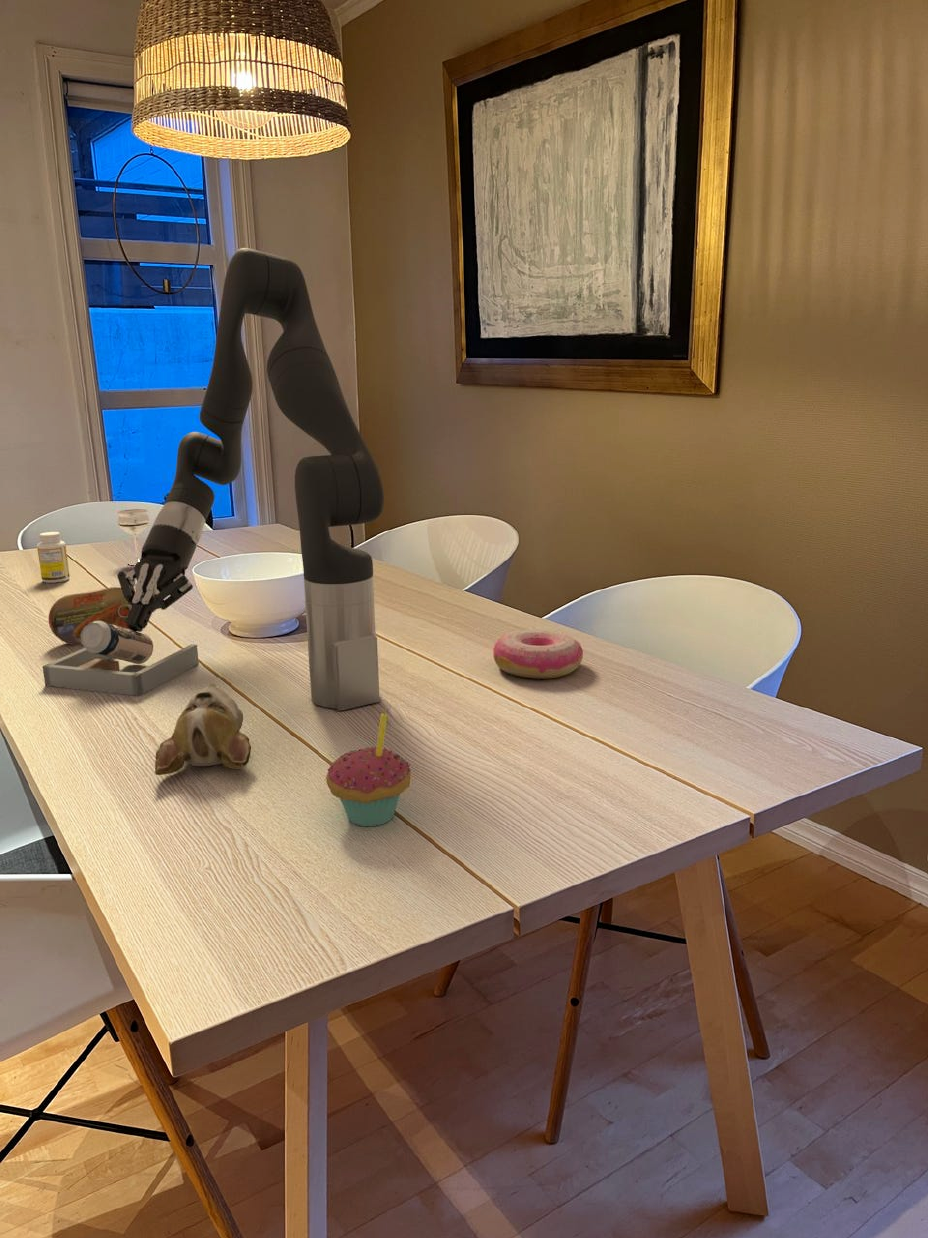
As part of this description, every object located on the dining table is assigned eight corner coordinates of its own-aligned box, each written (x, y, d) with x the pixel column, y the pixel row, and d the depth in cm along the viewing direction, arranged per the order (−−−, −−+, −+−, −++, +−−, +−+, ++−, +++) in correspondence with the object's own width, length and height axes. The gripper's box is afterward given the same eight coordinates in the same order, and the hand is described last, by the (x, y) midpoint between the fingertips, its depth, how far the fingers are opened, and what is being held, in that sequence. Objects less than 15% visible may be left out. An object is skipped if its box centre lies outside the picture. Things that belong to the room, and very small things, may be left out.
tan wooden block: (98, 677, 141) (96, 658, 140) (120, 680, 140) (118, 661, 139) (80, 686, 137) (77, 667, 137) (102, 689, 136) (100, 669, 135)
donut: (578, 687, 134) (578, 653, 133) (485, 682, 137) (485, 649, 135) (585, 657, 147) (586, 627, 146) (500, 653, 150) (500, 623, 148)
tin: (55, 649, 154) (48, 599, 152) (49, 645, 157) (42, 596, 154) (145, 632, 164) (140, 584, 161) (138, 628, 166) (133, 581, 164)
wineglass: (160, 562, 218) (154, 510, 215) (136, 567, 213) (130, 514, 210) (140, 559, 222) (134, 508, 219) (116, 564, 216) (110, 512, 213)
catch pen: (111, 654, 151) (109, 636, 150) (198, 663, 146) (197, 644, 146) (45, 685, 137) (42, 666, 136) (139, 696, 133) (136, 675, 132)
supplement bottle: (55, 576, 205) (49, 530, 203) (75, 578, 203) (69, 531, 201) (36, 582, 200) (29, 534, 197) (56, 584, 198) (50, 536, 196)
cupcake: (412, 796, 102) (409, 691, 98) (411, 835, 93) (407, 722, 90) (332, 798, 101) (326, 693, 98) (323, 838, 93) (317, 724, 90)
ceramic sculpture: (254, 667, 117) (243, 719, 103) (260, 730, 120) (250, 789, 106) (165, 672, 115) (142, 725, 101) (174, 736, 118) (152, 797, 104)
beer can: (157, 635, 146) (109, 620, 135) (152, 665, 146) (103, 653, 134) (131, 633, 148) (81, 618, 137) (125, 663, 147) (74, 650, 136)
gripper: (127, 520, 151) (83, 612, 142) (200, 524, 147) (159, 619, 139) (150, 548, 157) (109, 638, 149) (220, 552, 153) (182, 644, 145)
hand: (133, 628), depth 144 cm, fingers closed
